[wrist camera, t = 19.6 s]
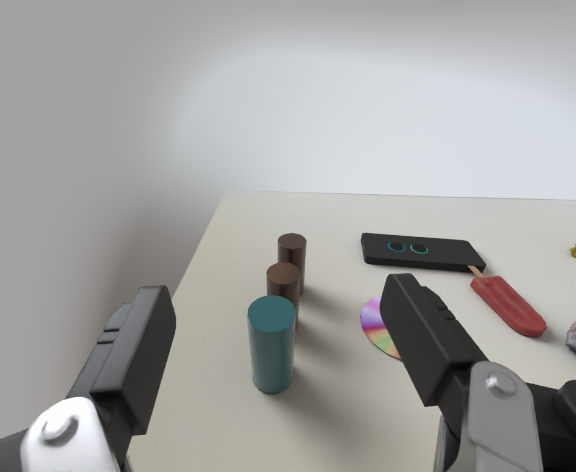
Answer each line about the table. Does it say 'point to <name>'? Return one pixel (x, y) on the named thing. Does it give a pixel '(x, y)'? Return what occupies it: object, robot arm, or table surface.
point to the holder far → (293, 253)
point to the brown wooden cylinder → (285, 283)
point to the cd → (377, 327)
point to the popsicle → (508, 304)
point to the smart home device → (420, 252)
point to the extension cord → (573, 251)
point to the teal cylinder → (271, 342)
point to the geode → (572, 337)
